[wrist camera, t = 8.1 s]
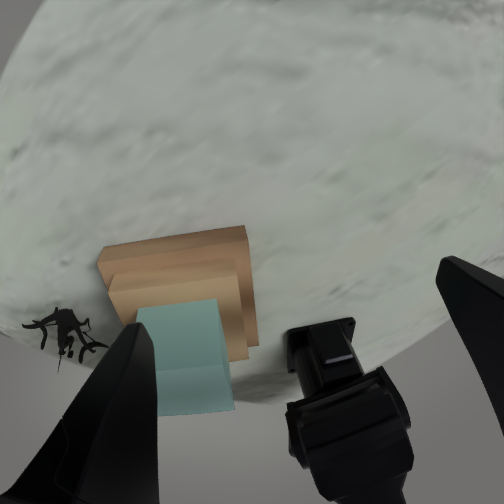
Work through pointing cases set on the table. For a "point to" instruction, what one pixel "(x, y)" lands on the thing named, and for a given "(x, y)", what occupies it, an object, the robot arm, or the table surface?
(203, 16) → the table surface
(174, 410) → the teal block
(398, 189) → the table surface
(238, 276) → the plinth
